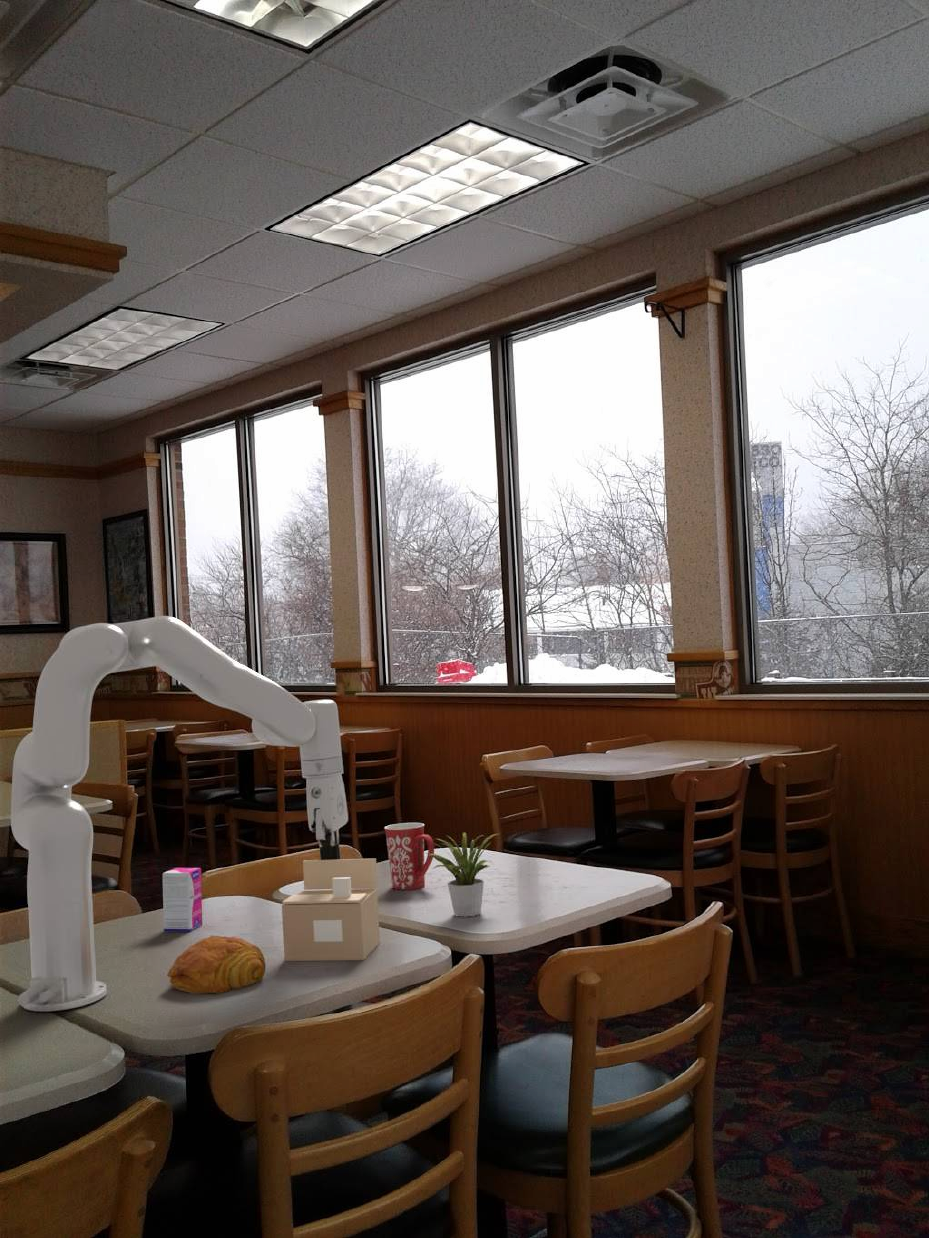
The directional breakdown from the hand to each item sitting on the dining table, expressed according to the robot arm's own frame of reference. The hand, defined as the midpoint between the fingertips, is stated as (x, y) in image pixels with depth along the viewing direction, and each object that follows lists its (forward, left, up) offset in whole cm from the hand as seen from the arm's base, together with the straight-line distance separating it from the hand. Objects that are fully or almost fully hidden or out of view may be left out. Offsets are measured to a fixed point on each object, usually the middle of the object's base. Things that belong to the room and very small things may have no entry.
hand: (331, 866), depth 200 cm
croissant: (-26, +12, -14) cm, 31 cm away
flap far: (-2, -2, -1) cm, 3 cm away
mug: (+42, -5, -13) cm, 45 cm away
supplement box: (+9, +34, -13) cm, 37 cm away
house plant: (+18, -22, -13) cm, 32 cm away
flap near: (-12, -2, -3) cm, 12 cm away
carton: (-9, -2, -13) cm, 16 cm away
